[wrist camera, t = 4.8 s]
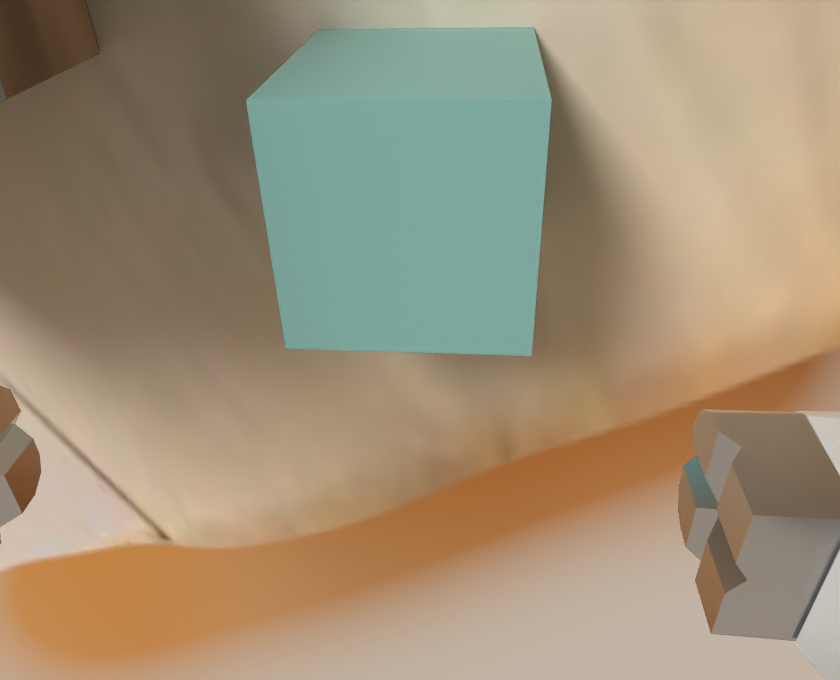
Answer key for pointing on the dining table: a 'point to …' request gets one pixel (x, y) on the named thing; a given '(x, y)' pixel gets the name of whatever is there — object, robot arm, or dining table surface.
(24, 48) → the taped cardboard box
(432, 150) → the teal brick
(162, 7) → the dining table surface
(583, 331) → the dining table surface
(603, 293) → the dining table surface
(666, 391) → the dining table surface
